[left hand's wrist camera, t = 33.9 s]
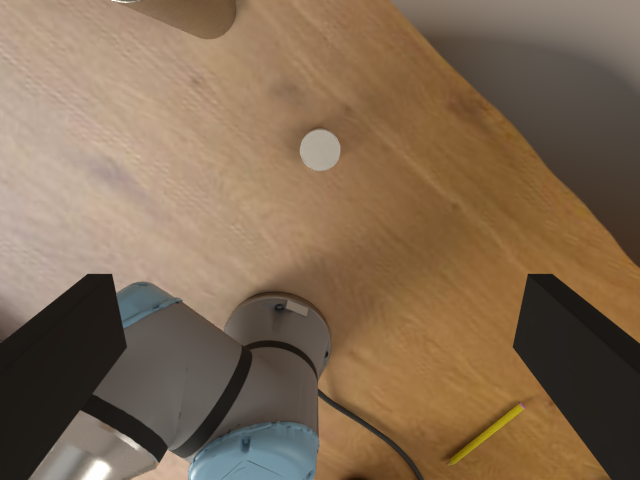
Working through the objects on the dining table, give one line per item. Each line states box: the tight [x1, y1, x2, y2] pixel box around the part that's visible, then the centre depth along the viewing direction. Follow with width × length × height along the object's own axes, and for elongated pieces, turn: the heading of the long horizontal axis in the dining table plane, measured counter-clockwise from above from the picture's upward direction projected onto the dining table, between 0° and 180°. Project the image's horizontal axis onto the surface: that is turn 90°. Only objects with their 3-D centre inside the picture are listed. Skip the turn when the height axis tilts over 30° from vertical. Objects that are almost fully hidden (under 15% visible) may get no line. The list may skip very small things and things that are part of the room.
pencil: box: [446, 402, 526, 466], centre depth 63 cm, size 16×1×1 cm, turn 141°
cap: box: [300, 128, 340, 171], centre depth 47 cm, size 5×5×2 cm
